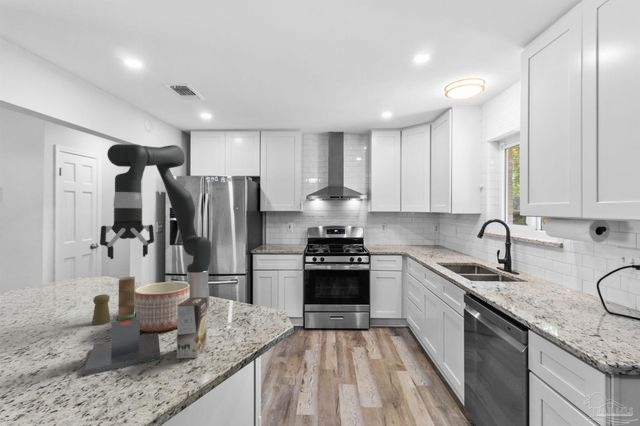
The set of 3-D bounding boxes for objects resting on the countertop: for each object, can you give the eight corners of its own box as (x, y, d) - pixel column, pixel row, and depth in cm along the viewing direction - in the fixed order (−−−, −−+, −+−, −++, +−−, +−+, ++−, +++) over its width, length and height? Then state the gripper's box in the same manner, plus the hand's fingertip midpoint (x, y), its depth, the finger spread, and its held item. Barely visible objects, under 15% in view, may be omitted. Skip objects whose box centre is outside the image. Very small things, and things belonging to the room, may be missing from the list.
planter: (199, 319, 119) (200, 283, 119) (160, 338, 101) (160, 296, 101) (164, 313, 125) (164, 280, 125) (121, 330, 107) (122, 291, 107)
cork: (100, 325, 111) (100, 297, 111) (87, 324, 112) (88, 296, 113) (114, 320, 117) (114, 293, 117) (102, 319, 118) (102, 292, 118)
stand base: (158, 336, 102) (158, 304, 102) (160, 358, 86) (160, 320, 87) (94, 348, 92) (94, 313, 92) (84, 375, 77) (84, 333, 77)
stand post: (134, 325, 92) (135, 276, 93) (134, 330, 89) (135, 278, 89) (118, 328, 90) (119, 277, 90) (117, 333, 86) (118, 280, 87)
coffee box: (197, 358, 87) (198, 305, 87) (176, 359, 86) (176, 305, 86) (207, 344, 96) (207, 296, 96) (187, 345, 95) (188, 297, 96)
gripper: (153, 207, 98) (153, 254, 98) (101, 206, 91) (101, 257, 91) (154, 207, 92) (154, 257, 92) (98, 206, 84) (98, 261, 84)
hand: (128, 257), depth 91 cm, fingers open, 8 cm apart
